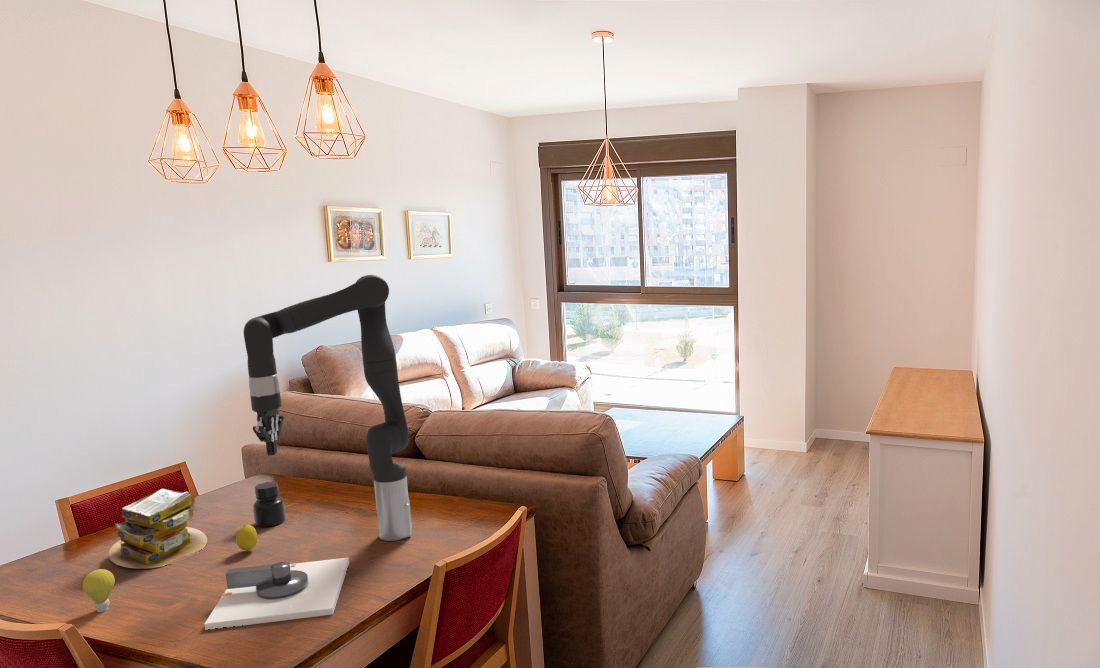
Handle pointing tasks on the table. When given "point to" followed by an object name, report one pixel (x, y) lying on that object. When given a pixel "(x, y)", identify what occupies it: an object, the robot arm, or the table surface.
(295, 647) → the table surface
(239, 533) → the lemon
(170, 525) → the stack of boxes
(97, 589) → the light bulb
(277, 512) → the ink bottle
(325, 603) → the dial plate
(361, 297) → the robot arm
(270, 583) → the dial
